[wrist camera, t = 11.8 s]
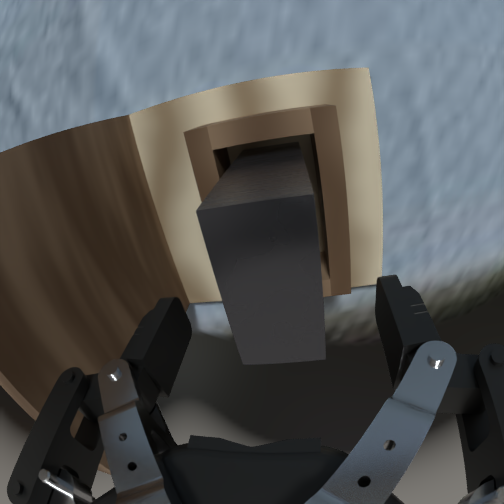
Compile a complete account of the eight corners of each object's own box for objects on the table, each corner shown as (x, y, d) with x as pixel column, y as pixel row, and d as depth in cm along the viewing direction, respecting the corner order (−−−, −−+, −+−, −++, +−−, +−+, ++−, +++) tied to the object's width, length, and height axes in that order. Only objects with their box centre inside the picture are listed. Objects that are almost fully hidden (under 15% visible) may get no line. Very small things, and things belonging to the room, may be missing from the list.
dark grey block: (298, 141, 20) (313, 193, 9) (311, 241, 23) (325, 359, 13) (243, 149, 20) (195, 211, 10) (262, 247, 24) (243, 364, 14)
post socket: (364, 68, 17) (591, 36, 1) (378, 277, 25) (439, 478, 9) (115, 121, 21) (-96, 212, 4) (174, 298, 29) (98, 470, 13)
